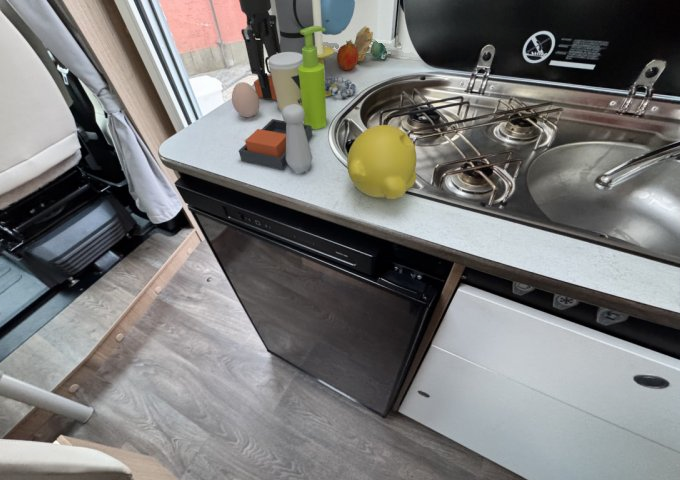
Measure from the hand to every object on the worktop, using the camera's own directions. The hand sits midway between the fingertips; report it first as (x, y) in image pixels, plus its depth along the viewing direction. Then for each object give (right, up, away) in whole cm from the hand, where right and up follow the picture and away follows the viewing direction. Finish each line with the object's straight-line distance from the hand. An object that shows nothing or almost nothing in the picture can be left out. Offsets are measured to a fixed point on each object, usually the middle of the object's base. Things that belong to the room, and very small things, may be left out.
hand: (272, 93), depth 89 cm
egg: (-5, -10, -6) cm, 13 cm away
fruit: (+23, +14, +10) cm, 29 cm away
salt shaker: (+10, -31, -23) cm, 39 cm away
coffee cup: (+7, -7, -4) cm, 10 cm away
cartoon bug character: (+25, +22, +10) cm, 35 cm away
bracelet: (+20, 0, -1) cm, 20 cm away
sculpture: (+30, -39, -33) cm, 59 cm away
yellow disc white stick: (+15, +2, +1) cm, 15 cm away
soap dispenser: (+14, -15, -11) cm, 23 cm away
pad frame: (+5, -24, -17) cm, 30 cm away
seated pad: (+3, -26, -20) cm, 33 cm away
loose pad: (0, 0, 0) cm, 0 cm away
